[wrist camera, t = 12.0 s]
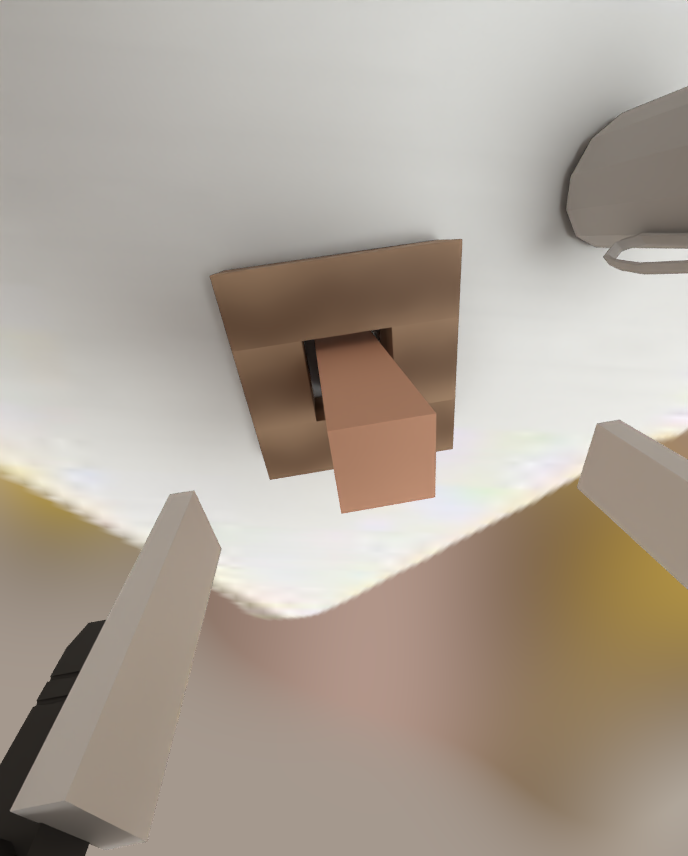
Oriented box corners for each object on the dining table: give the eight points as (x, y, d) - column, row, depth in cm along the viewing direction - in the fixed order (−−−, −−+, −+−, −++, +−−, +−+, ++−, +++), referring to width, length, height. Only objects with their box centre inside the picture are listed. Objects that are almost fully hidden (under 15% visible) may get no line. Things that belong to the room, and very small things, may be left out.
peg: (313, 336, 24) (327, 431, 12) (368, 328, 24) (436, 413, 12) (322, 387, 26) (341, 513, 14) (372, 379, 26) (434, 497, 14)
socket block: (224, 270, 21) (209, 275, 18) (436, 239, 22) (462, 239, 18) (273, 450, 28) (270, 479, 25) (434, 424, 29) (452, 448, 25)
